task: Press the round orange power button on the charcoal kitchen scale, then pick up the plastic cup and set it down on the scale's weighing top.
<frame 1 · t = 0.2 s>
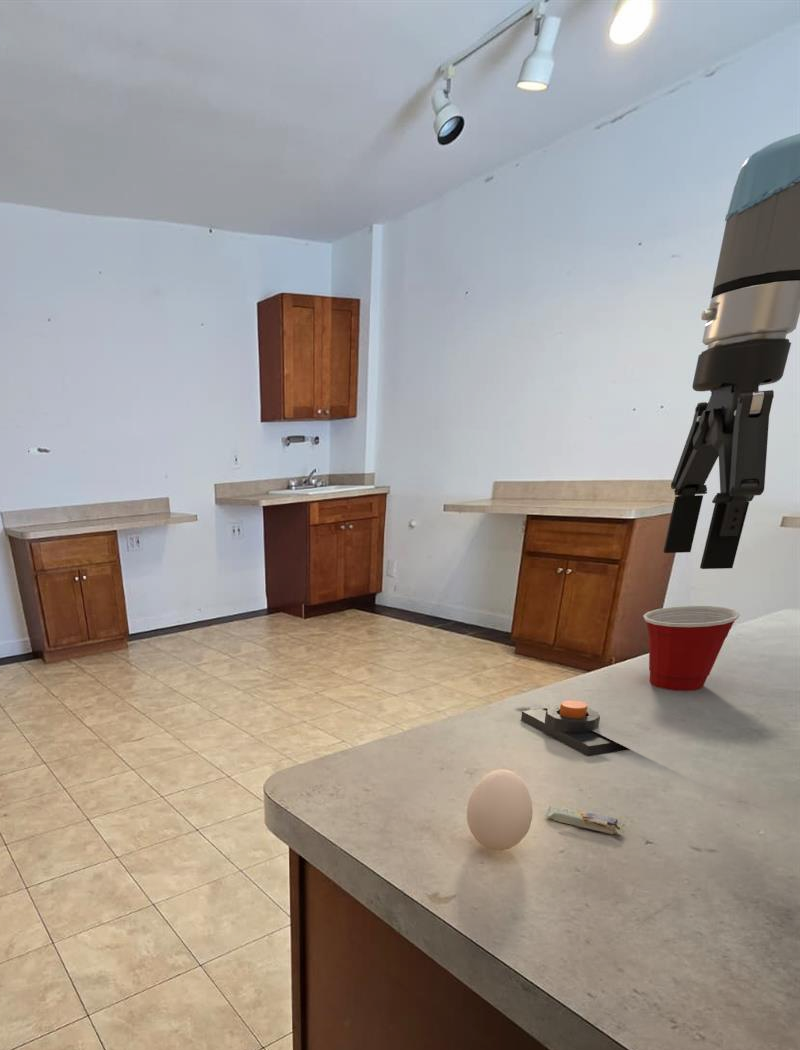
hand: (694, 560, 74), 21 cm above the countertop, tool pointing down, fingers open, 13 cm apart
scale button: (573, 710, 80), point 3 cm above the countertop, slide at 0.1 cm
granola bar: (583, 826, 62), on the countertop
plastic cup: (671, 696, 92), on the countertop
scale: (614, 728, 83), on the countertop
egg: (494, 849, 60), on the countertop
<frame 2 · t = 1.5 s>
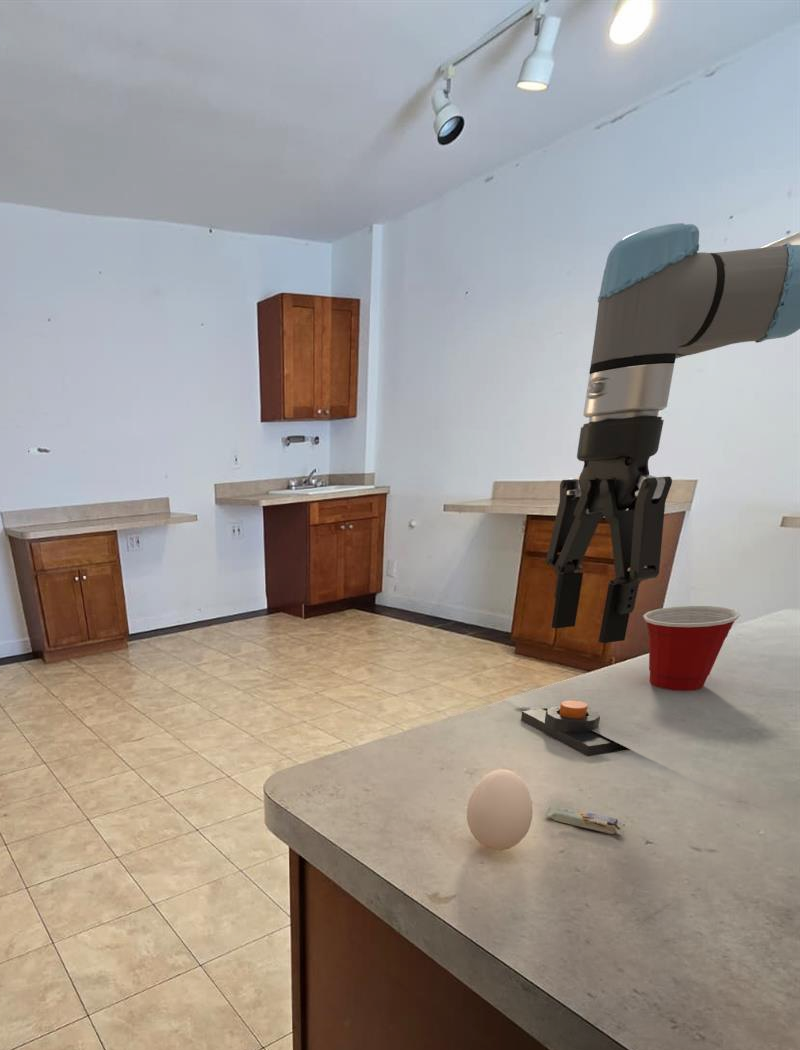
hand: (586, 633, 76), 13 cm above the countertop, tool pointing down, fingers open, 8 cm apart
nothing on the countertop moved.
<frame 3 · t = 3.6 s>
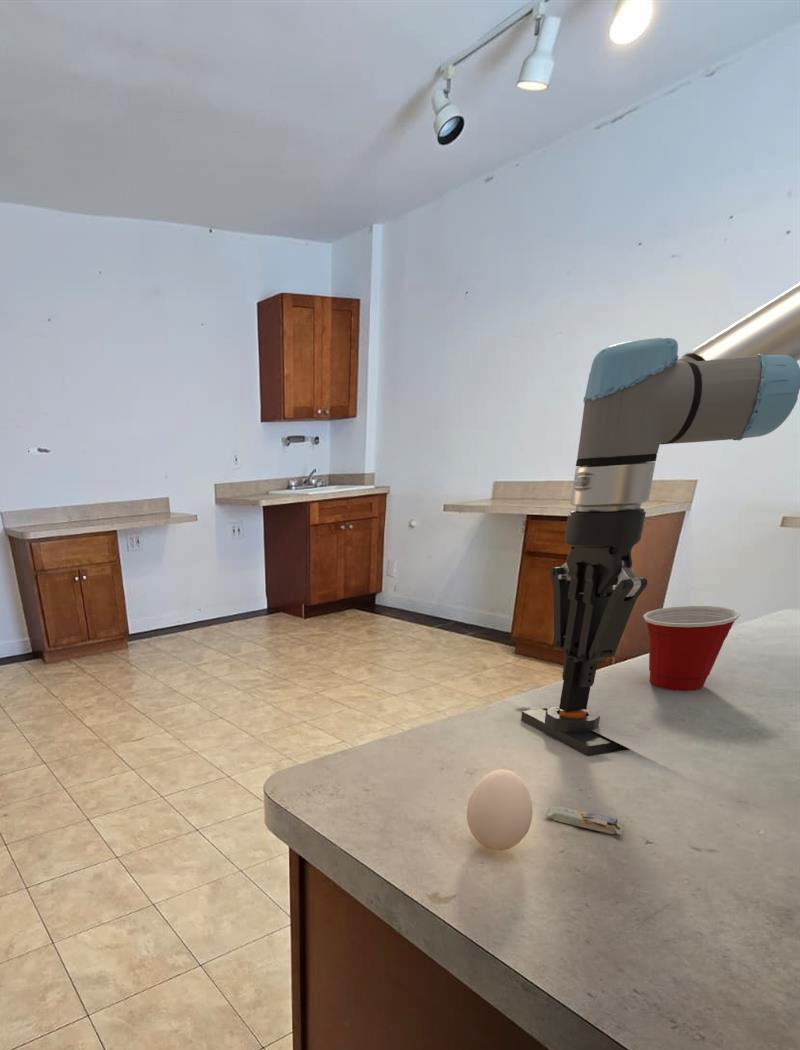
hand: (572, 708, 80), 4 cm above the countertop, tool pointing down, fingers closed
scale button: (572, 716, 81), point 3 cm above the countertop, slide at -0.7 cm, touching gripper
everything else where it was.
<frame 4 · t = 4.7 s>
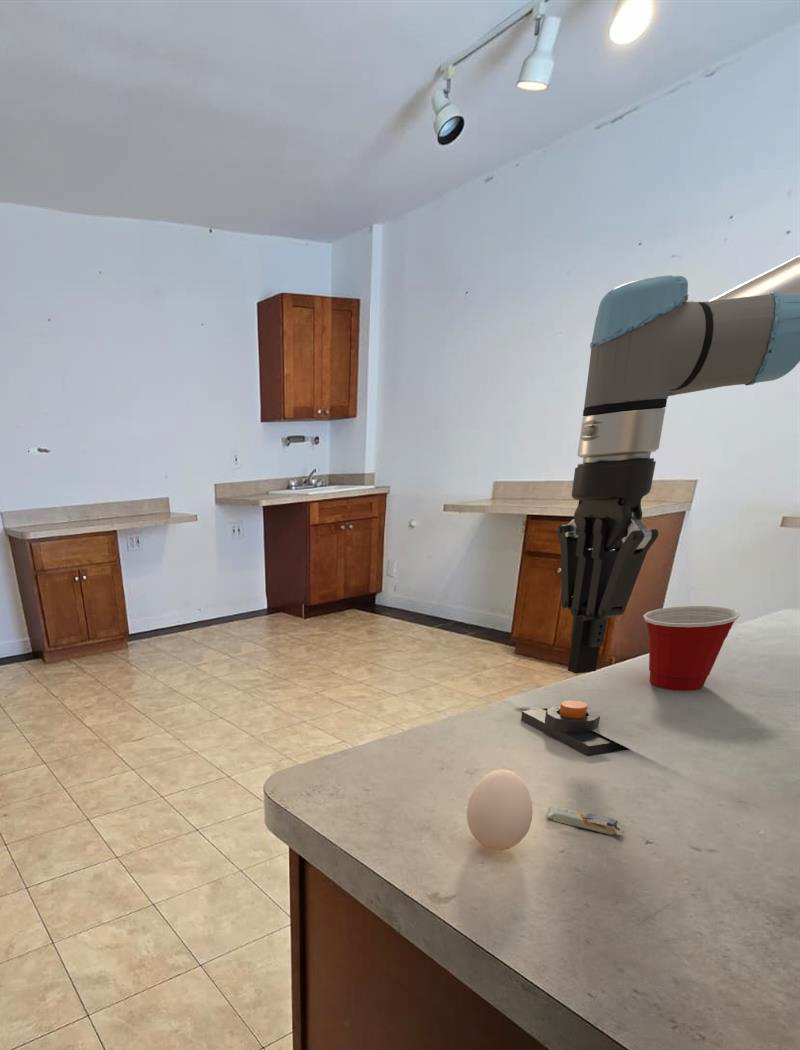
hand: (581, 670, 78), 9 cm above the countertop, tool pointing down, fingers closed
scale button: (573, 710, 80), point 3 cm above the countertop, slide at 0.1 cm
everything else where it was.
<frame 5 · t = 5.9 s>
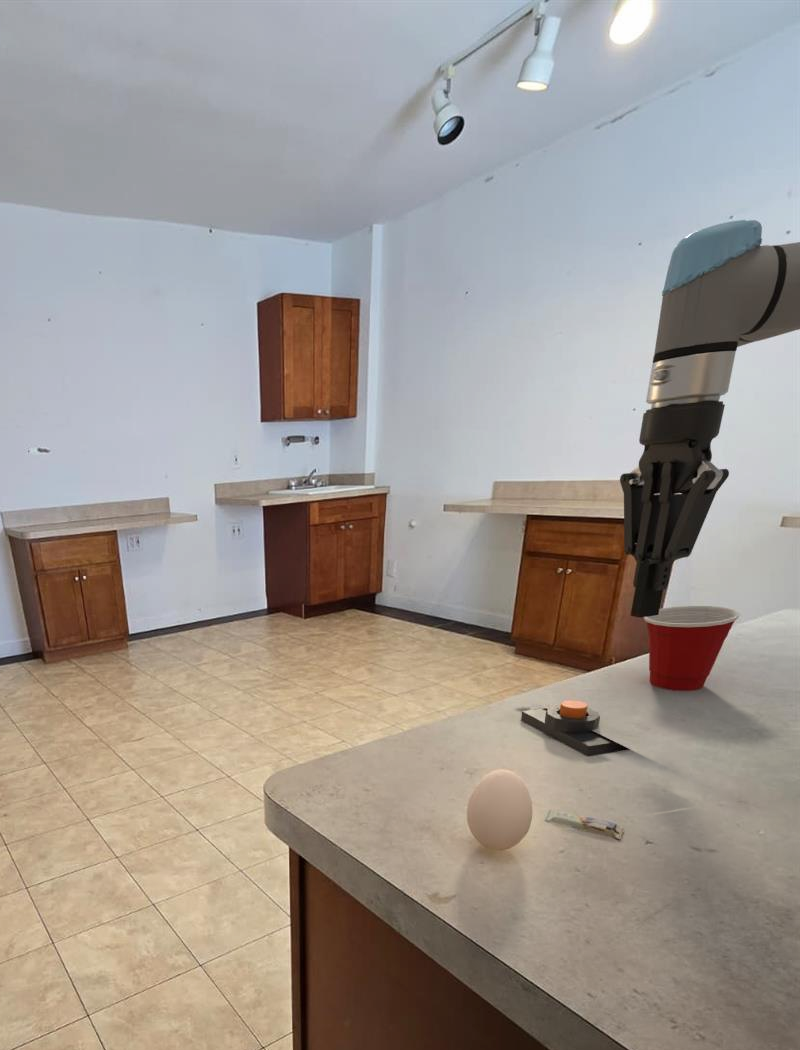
hand: (644, 615, 81), 14 cm above the countertop, tool pointing down, fingers closed
nothing on the countertop moved.
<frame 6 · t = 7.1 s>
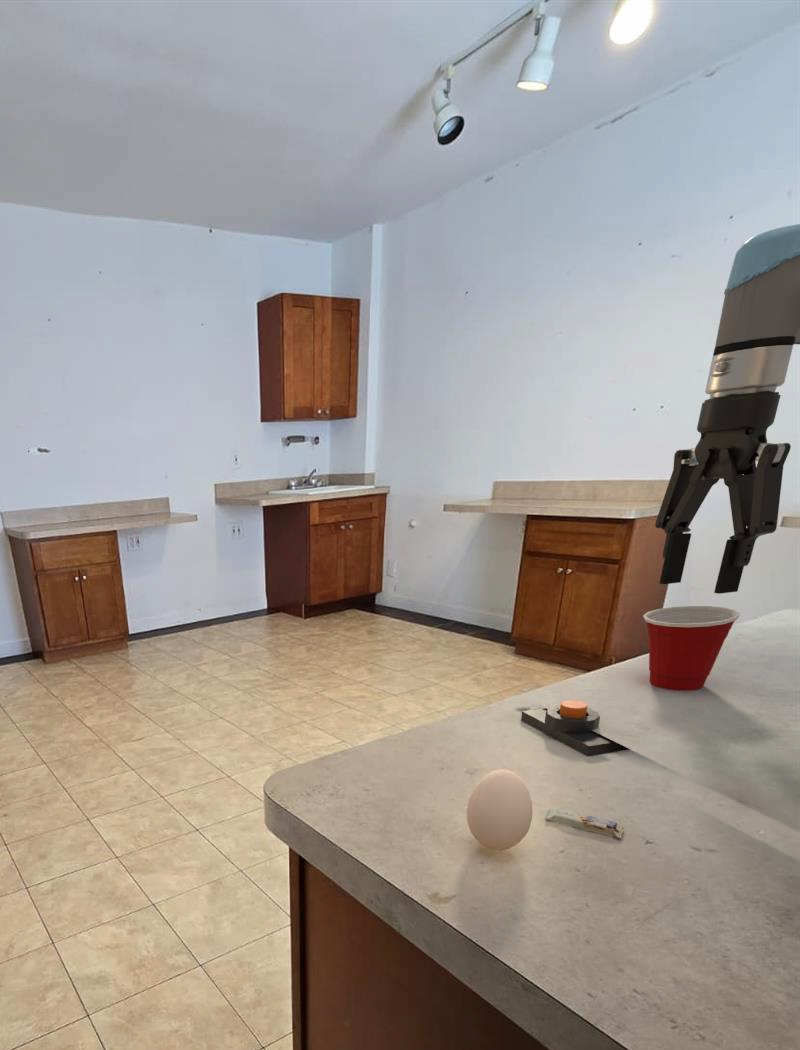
hand: (696, 587, 86), 15 cm above the countertop, tool pointing down, fingers open, 8 cm apart
nothing on the countertop moved.
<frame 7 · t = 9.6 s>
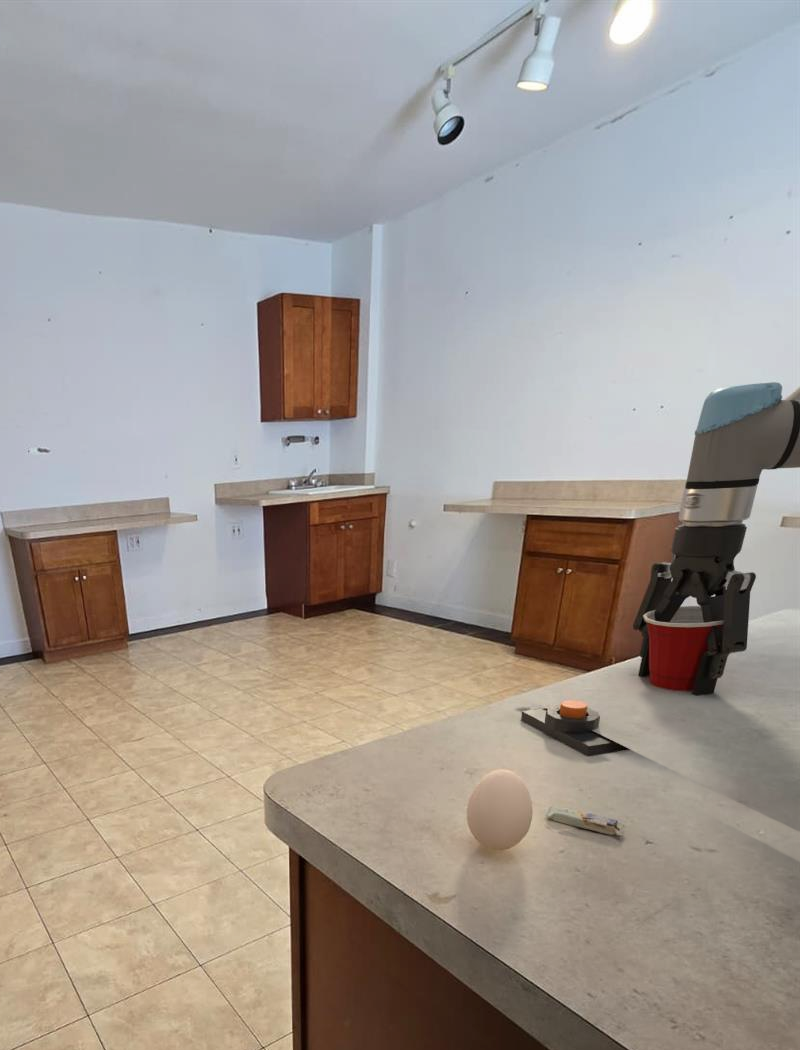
hand: (672, 689, 92), 1 cm above the countertop, tool pointing down, fingers closed on plastic cup, 9 cm apart
plastic cup: (671, 696, 92), on the countertop, touching gripper
everything else where it was.
when the fingers open (2 cm above the countertop, at t = 17.5 s): plastic cup stays where it is, resting on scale.
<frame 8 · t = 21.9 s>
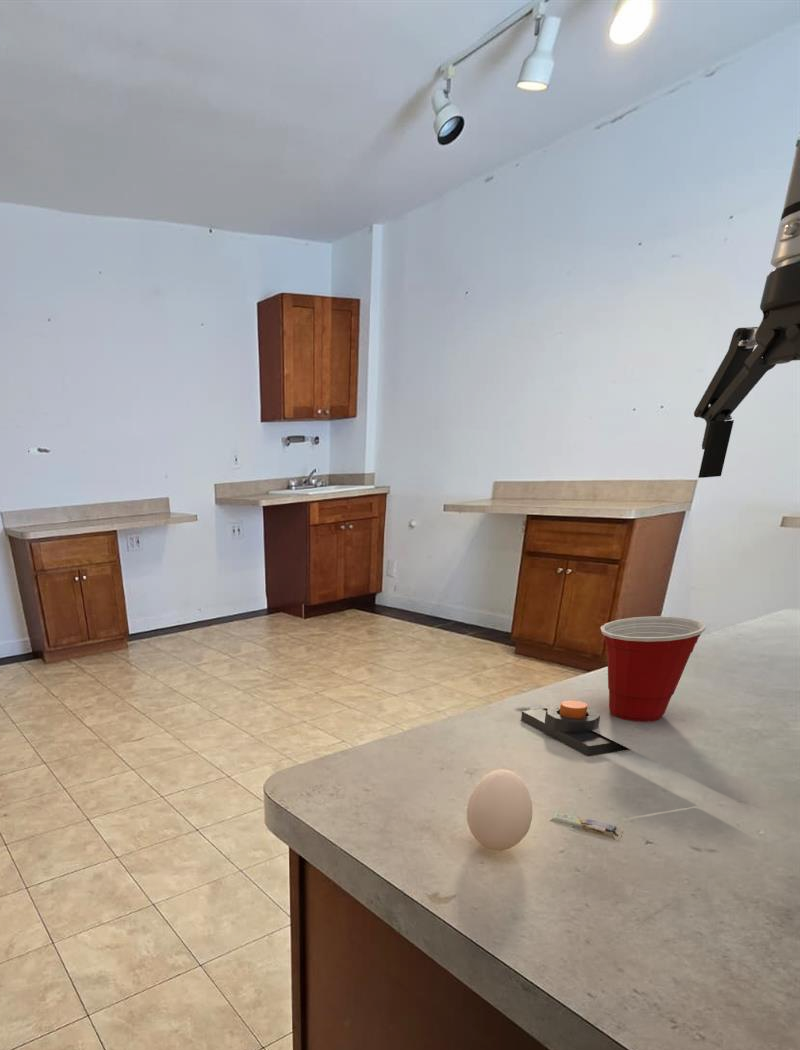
hand: (758, 476, 78), 29 cm above the countertop, tool pointing down, fingers open, 13 cm apart
plastic cup: (632, 717, 83), point 1 cm above the countertop, touching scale
everything else where it was.
at the end: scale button pushed in 0.8 cm at the most during the clip, back to where it started at the end; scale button slide at 0.1 cm; plastic cup inside the target area on the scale (0.7 cm from its centre), point 1.2 cm above the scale's base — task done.
